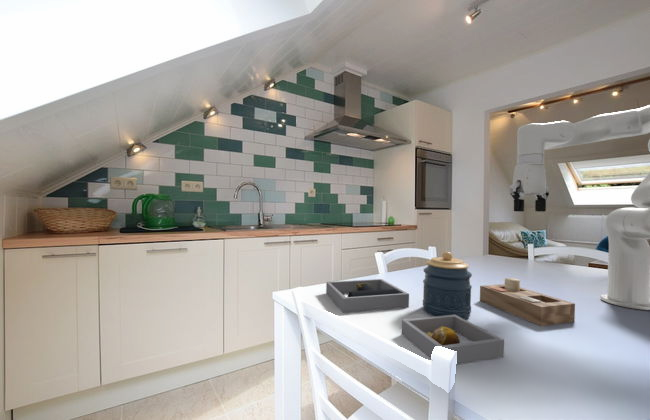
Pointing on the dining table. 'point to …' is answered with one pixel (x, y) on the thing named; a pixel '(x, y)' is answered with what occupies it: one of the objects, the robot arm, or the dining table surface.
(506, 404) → the dining table surface
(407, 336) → the fruit corral
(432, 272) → the canister
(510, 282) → the peg
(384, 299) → the tray
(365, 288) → the pipe connector
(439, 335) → the fruit
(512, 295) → the socket block
